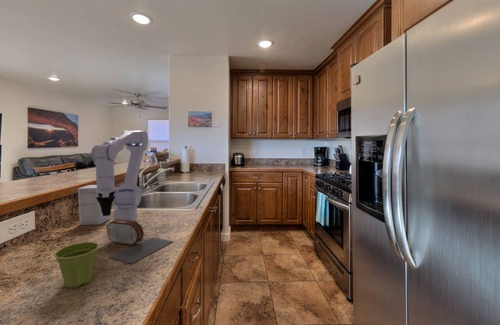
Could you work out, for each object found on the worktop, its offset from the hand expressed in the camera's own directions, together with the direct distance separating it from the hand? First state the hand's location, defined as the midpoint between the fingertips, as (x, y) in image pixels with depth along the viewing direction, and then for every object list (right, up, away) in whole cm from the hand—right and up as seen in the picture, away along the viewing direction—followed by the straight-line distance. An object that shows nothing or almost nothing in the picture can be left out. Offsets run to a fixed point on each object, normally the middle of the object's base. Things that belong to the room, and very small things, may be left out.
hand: (106, 213), depth 90 cm
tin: (+8, -11, -3) cm, 14 cm away
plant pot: (+9, -12, -27) cm, 31 cm away
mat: (+17, -11, -8) cm, 22 cm away
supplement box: (-19, -9, +23) cm, 31 cm away
